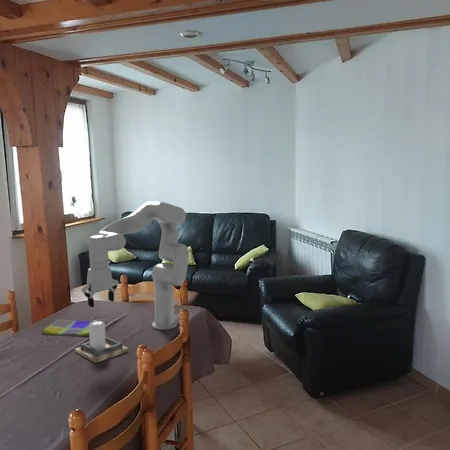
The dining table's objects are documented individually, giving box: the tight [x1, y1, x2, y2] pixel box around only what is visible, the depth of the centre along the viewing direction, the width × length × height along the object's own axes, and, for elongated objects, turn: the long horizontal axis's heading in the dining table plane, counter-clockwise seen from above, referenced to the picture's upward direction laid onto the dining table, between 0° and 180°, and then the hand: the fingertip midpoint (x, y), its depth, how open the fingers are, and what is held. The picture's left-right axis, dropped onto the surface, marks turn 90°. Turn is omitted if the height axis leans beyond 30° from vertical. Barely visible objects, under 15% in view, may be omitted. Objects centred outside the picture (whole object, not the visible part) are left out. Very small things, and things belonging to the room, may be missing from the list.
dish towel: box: [42, 318, 93, 337], centre depth 220 cm, size 18×24×3 cm
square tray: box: [74, 335, 129, 364], centre depth 193 cm, size 16×16×4 cm
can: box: [89, 319, 106, 351], centre depth 191 cm, size 6×6×12 cm
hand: (101, 303), depth 191 cm, fingers open, 9 cm apart
